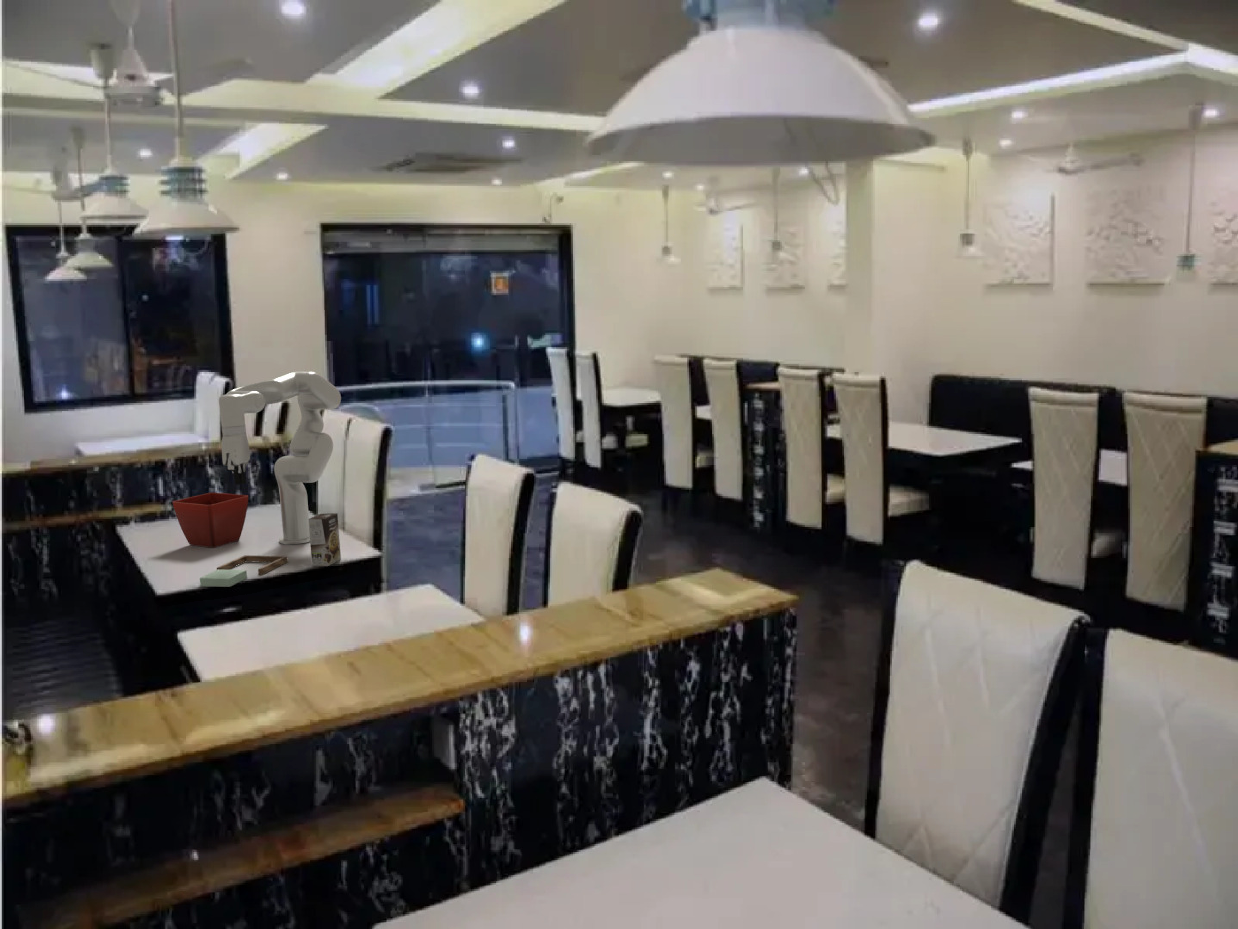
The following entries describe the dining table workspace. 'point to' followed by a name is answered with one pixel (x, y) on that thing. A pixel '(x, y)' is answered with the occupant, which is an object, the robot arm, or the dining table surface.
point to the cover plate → (223, 578)
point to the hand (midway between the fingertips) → (240, 483)
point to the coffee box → (324, 539)
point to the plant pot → (212, 518)
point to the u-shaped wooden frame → (274, 559)
